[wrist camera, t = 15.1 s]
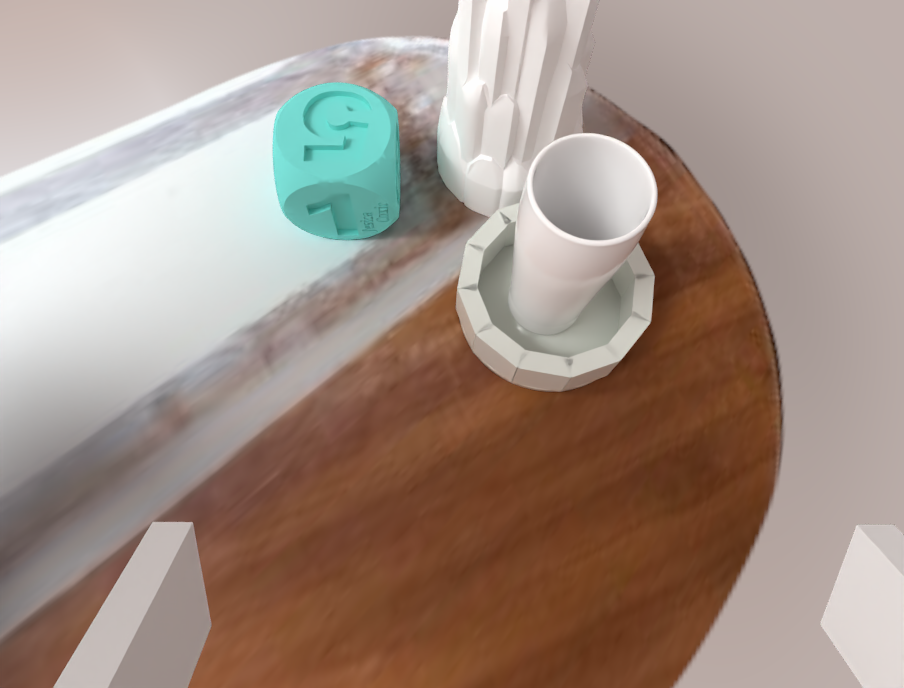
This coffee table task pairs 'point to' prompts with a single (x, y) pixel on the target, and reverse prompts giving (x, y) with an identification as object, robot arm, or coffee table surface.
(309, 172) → the decorative dice
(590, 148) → the drinking glass
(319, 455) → the coffee table surface
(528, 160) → the decorative vase
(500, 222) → the dish
